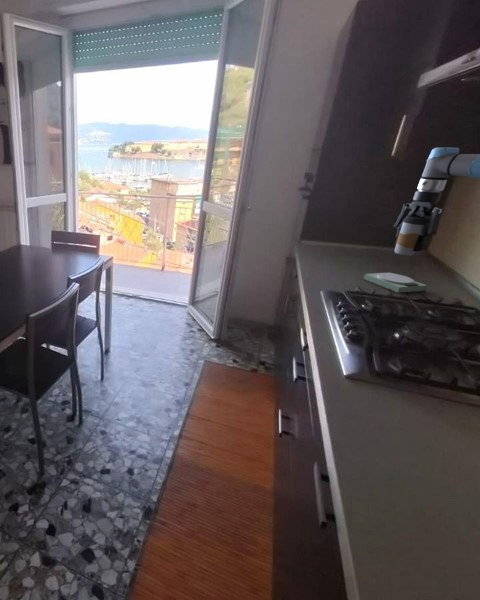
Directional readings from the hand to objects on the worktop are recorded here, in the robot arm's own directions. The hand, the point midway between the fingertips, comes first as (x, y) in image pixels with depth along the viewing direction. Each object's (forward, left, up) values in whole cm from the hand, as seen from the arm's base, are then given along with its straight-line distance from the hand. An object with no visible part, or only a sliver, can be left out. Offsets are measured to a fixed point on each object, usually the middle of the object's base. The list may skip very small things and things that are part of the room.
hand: (406, 248), depth 146 cm
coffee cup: (0, 0, -2) cm, 2 cm away
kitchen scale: (0, 0, -16) cm, 16 cm away
